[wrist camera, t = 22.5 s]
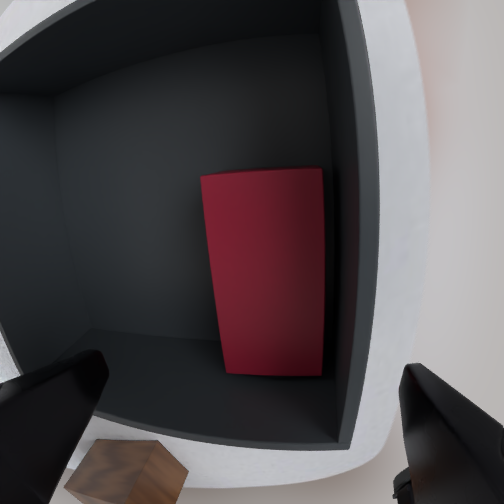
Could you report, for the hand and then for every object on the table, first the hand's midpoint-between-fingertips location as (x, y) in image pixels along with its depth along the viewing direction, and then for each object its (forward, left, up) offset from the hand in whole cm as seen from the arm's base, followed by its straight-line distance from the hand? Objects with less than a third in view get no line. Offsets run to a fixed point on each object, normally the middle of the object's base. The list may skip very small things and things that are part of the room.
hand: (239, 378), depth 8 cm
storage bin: (+6, -2, -10) cm, 12 cm away
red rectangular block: (0, 0, -10) cm, 10 cm away
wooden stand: (+9, +28, -10) cm, 32 cm away
